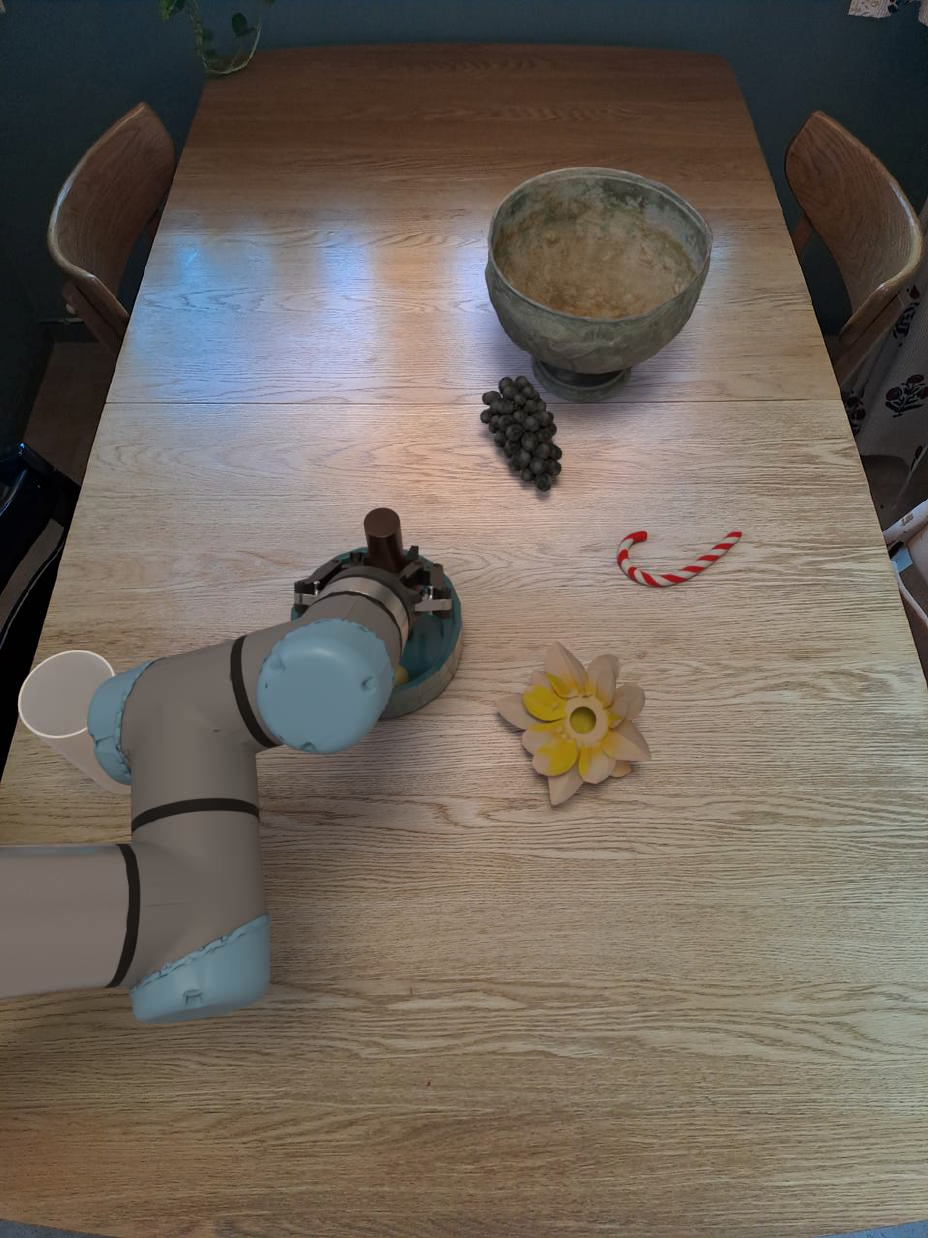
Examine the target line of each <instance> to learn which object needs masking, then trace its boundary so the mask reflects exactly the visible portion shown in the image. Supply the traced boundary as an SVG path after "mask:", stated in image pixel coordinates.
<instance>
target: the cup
mask: <svg viewBox="0 0 928 1238" xmlns="http://www.w3.org/2000/svg"><path fill="white" fill-rule="evenodd" d="M118 674H119V672H118V671H117V670H116V669H115V668H114V666H112V664H111V663H110V661H108V660H106V658H104V657H103V656H101V655H100V654H98V653H96V652H93V651H88V650H83V649H72V650H66V651H62V652H58V653H55V654H54V655H52V656H49V657H48V658H46V659H44V660H42V661H41V662H40V663H39V664H38V665H36V666H35V667H34V668H33V670H32V671H31V672H30V673H29V674H28V675H27V677H26V678H25V679H24V681H23V683H22V686H21V687H20V691H19V694H18V701H17V706H18V714H19V716H20V719H21V721H22V723H23V724H24V725H25V726H26V728H27V729H28V730H29V731H31V732H32V733H33V734H34V735H35V736H37V737H38V738H39V739H40V740H41V741H43V742H44V743H45V744H47V746H49V747H51V748H52V749H53V750H54V751H56V752H57V753H58V754H60V756H62V757H63V758H64V759H66V760H67V761H68V762H69V763H70V764H72V765H73V766H75V767H76V768H77V769H79V770H80V771H81V772H82V773H83V774H84V775H86V776H87V777H88V778H90V780H92V781H94V782H95V783H96V784H97V785H99V786H100V787H101V788H102V789H104V790H105V791H107V792H109V793H111V794H115V795H120V796H131V786H128V785H124V784H121V783H118V782H116V781H115V780H113V779H112V778H111V777H109V776H108V775H107V774H106V772H105V771H104V770H103V769H102V768H101V766H100V765H99V763H98V761H97V759H96V757H95V755H94V753H93V749H94V741H93V738H92V737H91V736H90V735H89V733H88V728H87V716H88V709H89V704H90V702H91V699H92V697H93V695H94V693H95V691H96V690H97V688H98V687H99V686H100V685H101V684H102V683H103V682H105V681H106V680H108V679H109V678H111V677H113V676H116V675H118Z"/></svg>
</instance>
